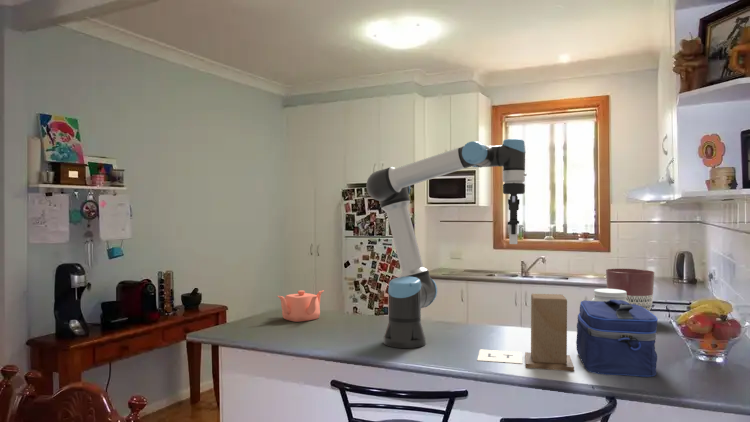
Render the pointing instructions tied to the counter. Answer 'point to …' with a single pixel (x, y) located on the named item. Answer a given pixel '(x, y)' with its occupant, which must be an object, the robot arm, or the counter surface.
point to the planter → (633, 285)
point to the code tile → (500, 356)
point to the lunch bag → (617, 338)
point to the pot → (301, 306)
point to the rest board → (548, 364)
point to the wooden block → (549, 328)
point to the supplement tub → (609, 295)
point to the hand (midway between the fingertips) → (513, 242)
